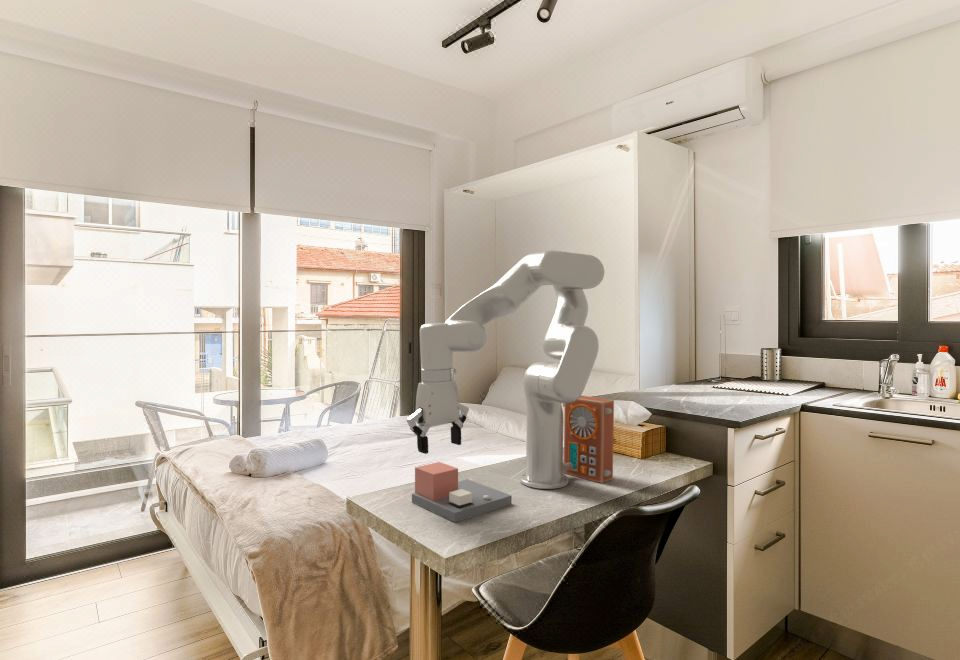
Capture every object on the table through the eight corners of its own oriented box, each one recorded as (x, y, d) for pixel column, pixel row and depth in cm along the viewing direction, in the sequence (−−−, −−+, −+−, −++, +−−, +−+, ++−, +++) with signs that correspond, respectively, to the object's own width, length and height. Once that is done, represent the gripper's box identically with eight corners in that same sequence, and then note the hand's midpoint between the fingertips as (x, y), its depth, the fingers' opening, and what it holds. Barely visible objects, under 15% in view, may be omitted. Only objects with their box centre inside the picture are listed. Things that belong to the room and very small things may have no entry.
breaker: (461, 497, 124) (461, 488, 124) (472, 501, 121) (472, 492, 121) (449, 501, 121) (449, 492, 121) (459, 505, 119) (459, 496, 119)
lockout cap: (439, 486, 133) (439, 461, 133) (457, 493, 128) (458, 468, 128) (414, 492, 128) (415, 467, 128) (433, 500, 123) (433, 474, 123)
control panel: (604, 485, 141) (558, 472, 152) (619, 479, 146) (573, 467, 157) (606, 403, 140) (559, 396, 151) (620, 400, 145) (574, 393, 156)
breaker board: (467, 486, 139) (467, 476, 139) (511, 503, 127) (511, 492, 127) (411, 502, 128) (411, 491, 128) (454, 522, 116) (454, 510, 116)
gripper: (456, 370, 136) (458, 438, 137) (397, 379, 124) (400, 452, 125) (476, 372, 130) (478, 443, 131) (416, 382, 119) (419, 459, 120)
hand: (440, 448), depth 128 cm, fingers open, 9 cm apart
